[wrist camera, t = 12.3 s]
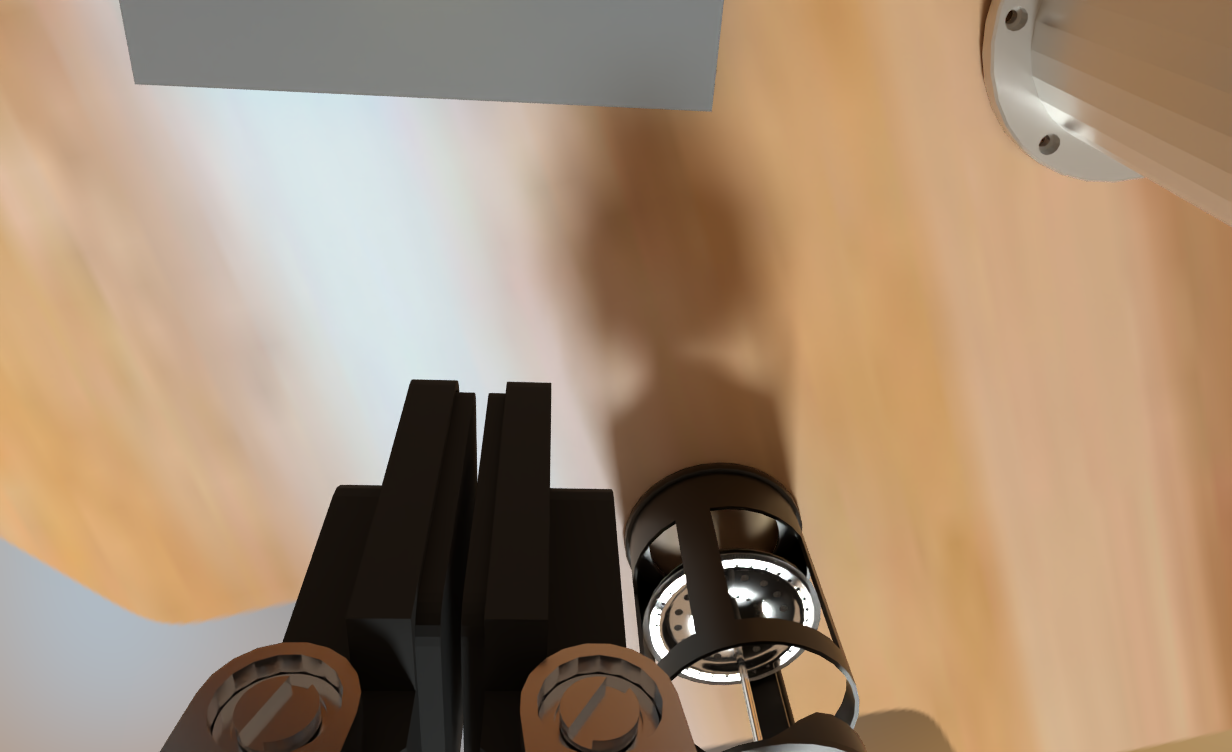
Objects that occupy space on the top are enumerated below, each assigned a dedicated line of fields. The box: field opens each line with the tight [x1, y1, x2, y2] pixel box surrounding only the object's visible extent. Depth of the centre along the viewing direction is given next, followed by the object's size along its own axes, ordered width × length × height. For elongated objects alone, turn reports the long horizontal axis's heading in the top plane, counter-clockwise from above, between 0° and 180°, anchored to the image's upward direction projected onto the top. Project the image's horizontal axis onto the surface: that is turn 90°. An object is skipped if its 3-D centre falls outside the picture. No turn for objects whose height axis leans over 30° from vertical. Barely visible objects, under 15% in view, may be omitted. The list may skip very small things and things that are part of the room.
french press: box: [624, 463, 867, 752], centre depth 40 cm, size 12×9×23 cm
